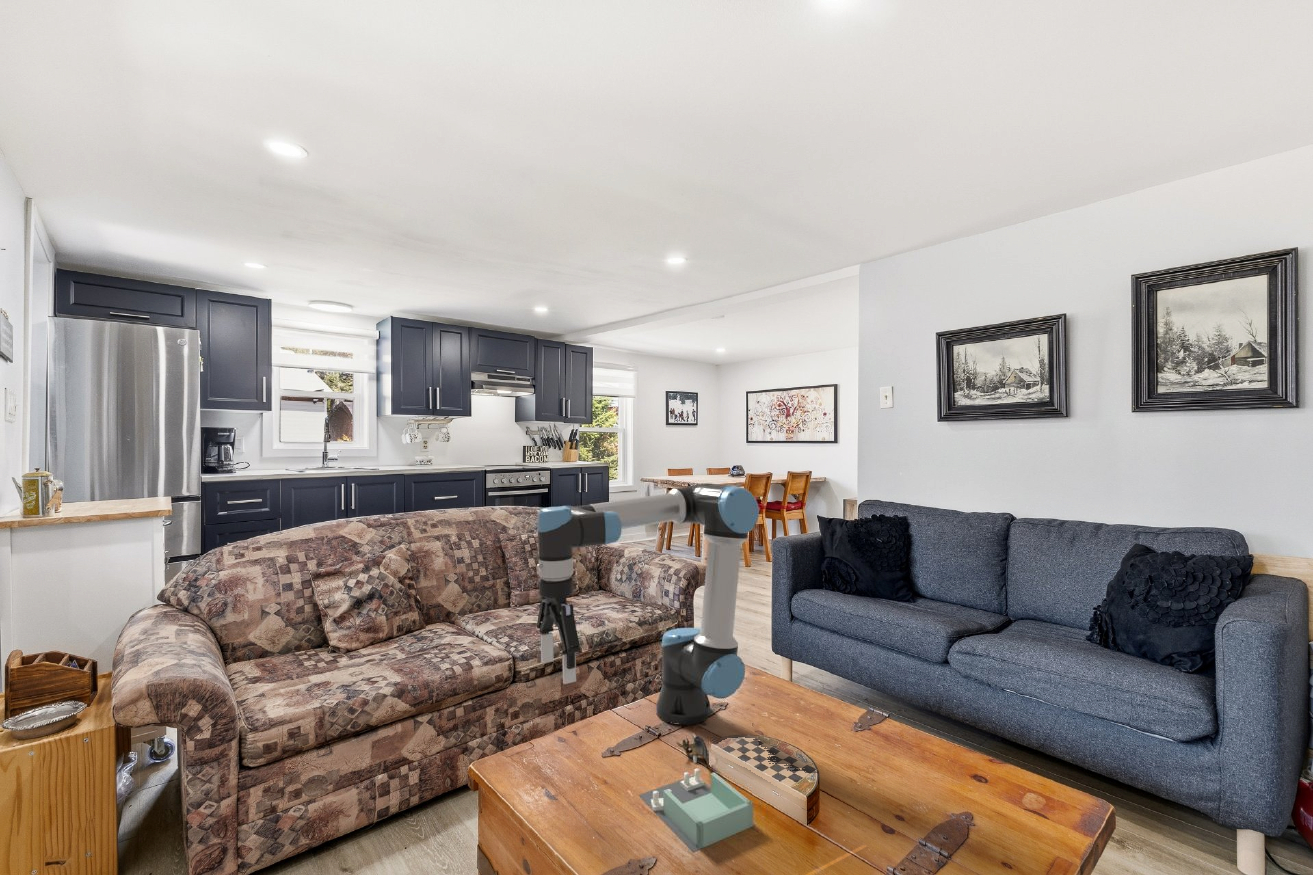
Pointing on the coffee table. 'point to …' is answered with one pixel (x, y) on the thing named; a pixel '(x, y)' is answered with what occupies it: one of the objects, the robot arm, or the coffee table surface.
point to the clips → (686, 784)
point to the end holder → (710, 813)
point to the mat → (683, 798)
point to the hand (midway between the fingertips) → (558, 671)
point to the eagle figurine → (696, 748)
